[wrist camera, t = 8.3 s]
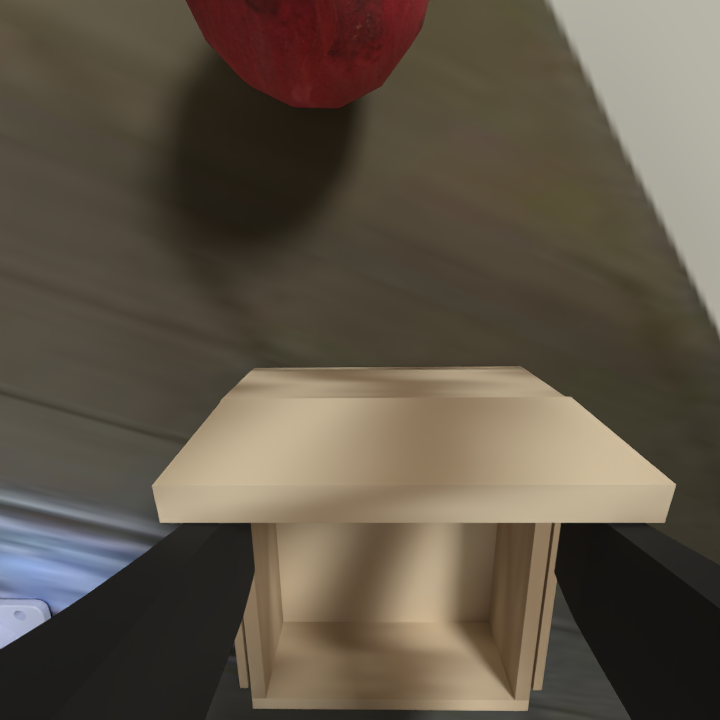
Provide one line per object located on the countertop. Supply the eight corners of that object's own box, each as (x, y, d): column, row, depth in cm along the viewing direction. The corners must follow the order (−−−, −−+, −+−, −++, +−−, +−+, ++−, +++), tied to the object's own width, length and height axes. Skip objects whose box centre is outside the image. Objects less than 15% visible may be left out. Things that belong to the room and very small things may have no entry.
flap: (160, 522, 7) (151, 485, 7) (227, 425, 10) (223, 399, 10) (664, 522, 7) (676, 484, 7) (565, 424, 10) (570, 396, 10)
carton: (266, 622, 18) (242, 708, 14) (243, 368, 15) (206, 400, 11) (505, 623, 17) (538, 711, 14) (531, 366, 14) (582, 398, 11)
